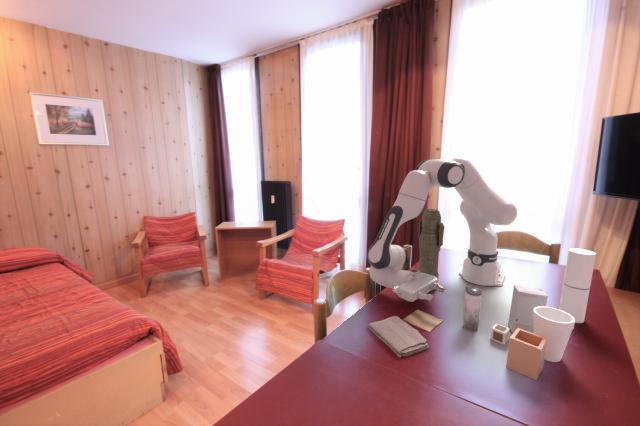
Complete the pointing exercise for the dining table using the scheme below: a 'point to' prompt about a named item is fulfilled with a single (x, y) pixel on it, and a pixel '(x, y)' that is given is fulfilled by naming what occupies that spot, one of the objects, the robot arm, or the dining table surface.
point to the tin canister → (472, 308)
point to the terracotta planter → (526, 353)
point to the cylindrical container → (577, 283)
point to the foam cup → (553, 330)
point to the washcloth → (399, 336)
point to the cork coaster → (423, 320)
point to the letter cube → (500, 333)
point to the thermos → (430, 241)
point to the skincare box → (525, 307)
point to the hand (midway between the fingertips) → (438, 293)
